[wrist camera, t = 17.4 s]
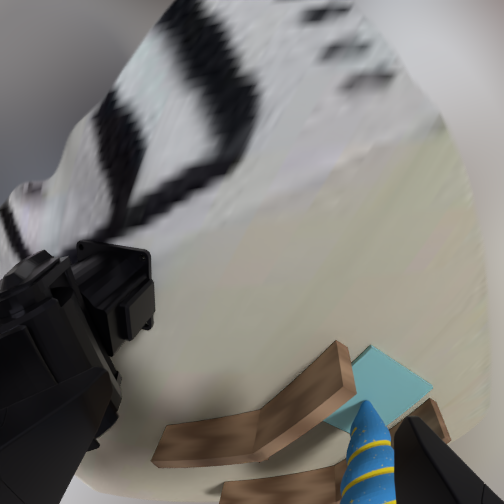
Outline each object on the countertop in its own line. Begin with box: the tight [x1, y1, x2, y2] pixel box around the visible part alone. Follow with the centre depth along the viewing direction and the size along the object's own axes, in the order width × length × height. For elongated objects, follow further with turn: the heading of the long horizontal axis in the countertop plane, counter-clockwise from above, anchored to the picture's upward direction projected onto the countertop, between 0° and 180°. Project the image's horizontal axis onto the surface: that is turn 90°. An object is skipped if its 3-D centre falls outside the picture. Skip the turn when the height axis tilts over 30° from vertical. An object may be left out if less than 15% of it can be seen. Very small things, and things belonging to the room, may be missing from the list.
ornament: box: [340, 400, 396, 504], centre depth 16 cm, size 5×5×15 cm
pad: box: [323, 345, 433, 433], centre depth 23 cm, size 8×8×1 cm
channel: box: [151, 340, 451, 504], centre depth 24 cm, size 25×26×5 cm
